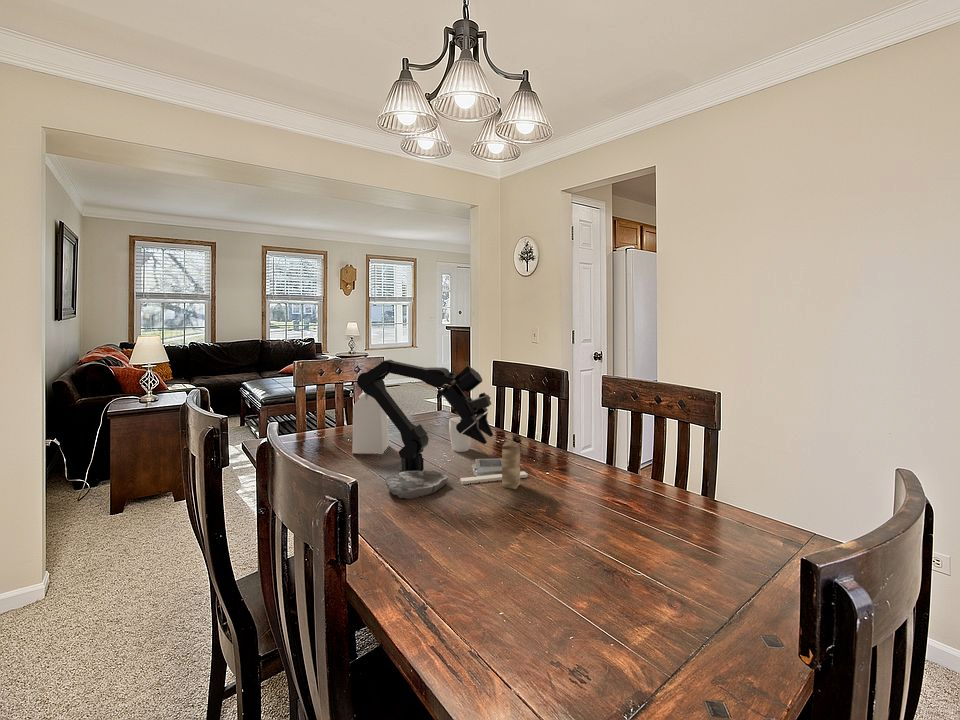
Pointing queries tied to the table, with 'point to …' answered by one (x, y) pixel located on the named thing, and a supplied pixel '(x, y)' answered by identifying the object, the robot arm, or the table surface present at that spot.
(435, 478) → the brain slice
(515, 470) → the block
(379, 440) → the milk
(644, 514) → the table surface
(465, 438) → the cup
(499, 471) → the keeper
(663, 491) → the table surface
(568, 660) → the table surface
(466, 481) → the door edge strip
